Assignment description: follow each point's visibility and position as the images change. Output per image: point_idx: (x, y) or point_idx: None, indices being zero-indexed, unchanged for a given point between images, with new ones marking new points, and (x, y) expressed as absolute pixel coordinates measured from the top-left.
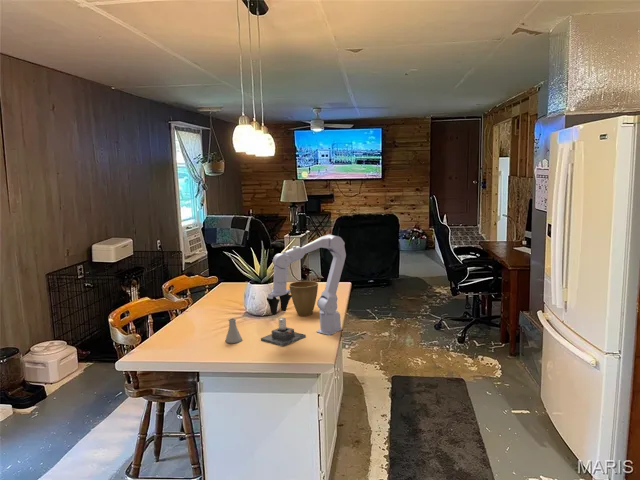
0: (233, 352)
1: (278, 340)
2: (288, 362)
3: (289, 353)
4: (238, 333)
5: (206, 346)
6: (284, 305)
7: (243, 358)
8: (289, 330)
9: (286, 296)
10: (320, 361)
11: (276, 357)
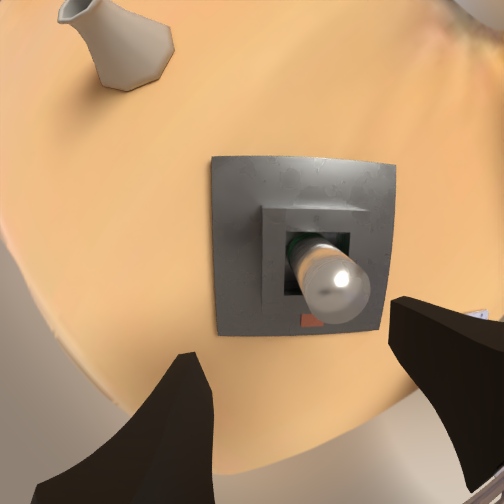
0: (48, 188)
1: (243, 278)
2: None
3: None
4: (129, 58)
5: (52, 49)
6: (426, 371)
7: (45, 276)
8: None
9: (484, 466)
10: None
11: (127, 374)
